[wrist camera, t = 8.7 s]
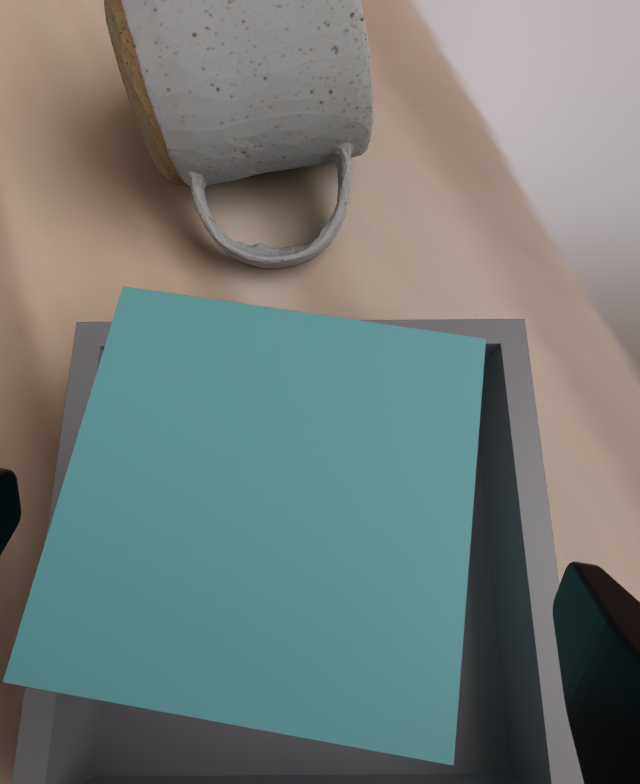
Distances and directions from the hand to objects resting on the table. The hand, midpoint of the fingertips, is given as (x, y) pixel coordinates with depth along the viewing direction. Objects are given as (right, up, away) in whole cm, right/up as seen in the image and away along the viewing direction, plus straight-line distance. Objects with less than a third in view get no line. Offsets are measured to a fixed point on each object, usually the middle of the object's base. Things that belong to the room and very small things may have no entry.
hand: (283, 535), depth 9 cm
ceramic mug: (-2, +12, +15) cm, 19 cm away
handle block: (0, -3, +9) cm, 10 cm away
